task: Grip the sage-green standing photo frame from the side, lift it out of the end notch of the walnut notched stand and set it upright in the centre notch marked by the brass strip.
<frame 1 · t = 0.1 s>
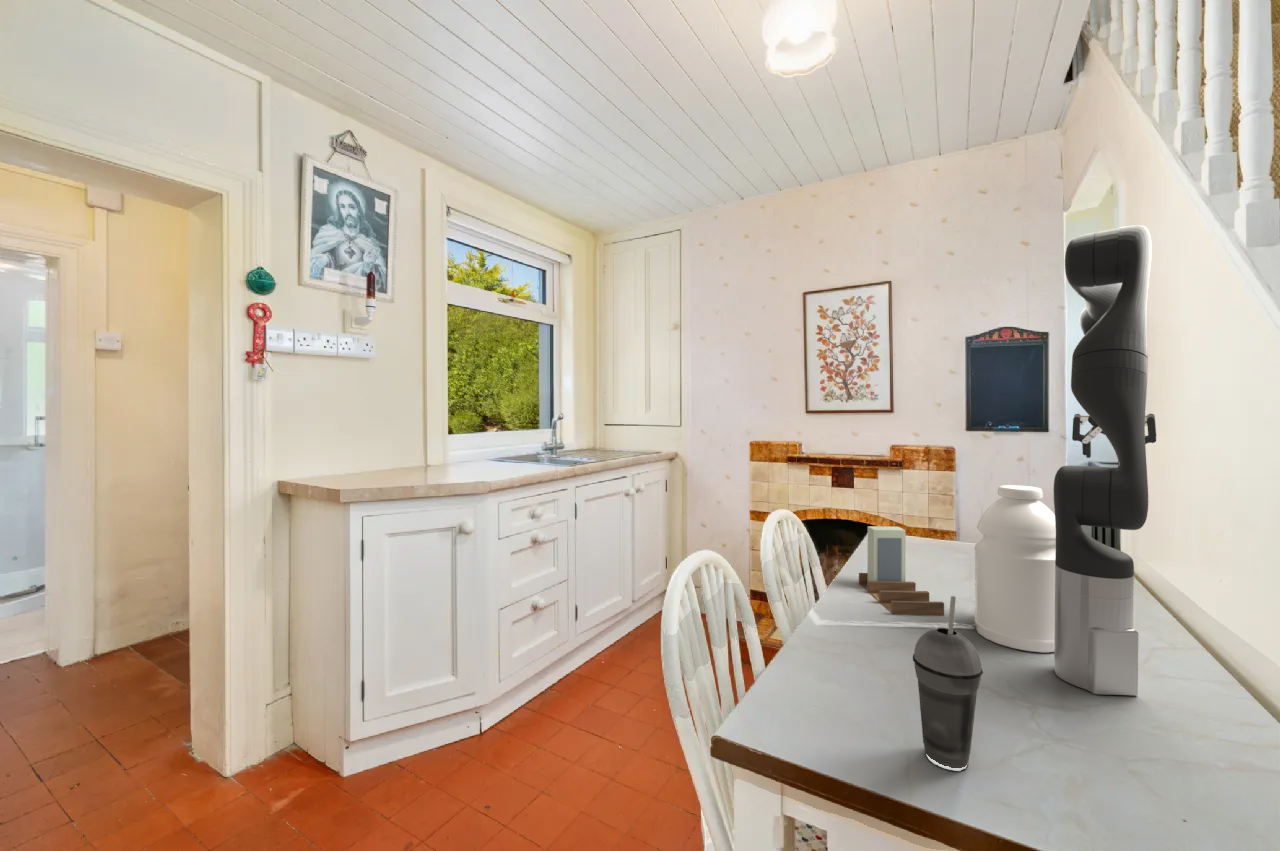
hand: (1112, 457, 122), 31 cm above the table, tool tilted 20°, fingers open, 8 cm apart
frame: (886, 588, 122), point 1 cm above the table, touching stand
beverage cup: (946, 760, 63), on the table
stand: (897, 603, 116), on the table
bottle: (1018, 638, 98), on the table
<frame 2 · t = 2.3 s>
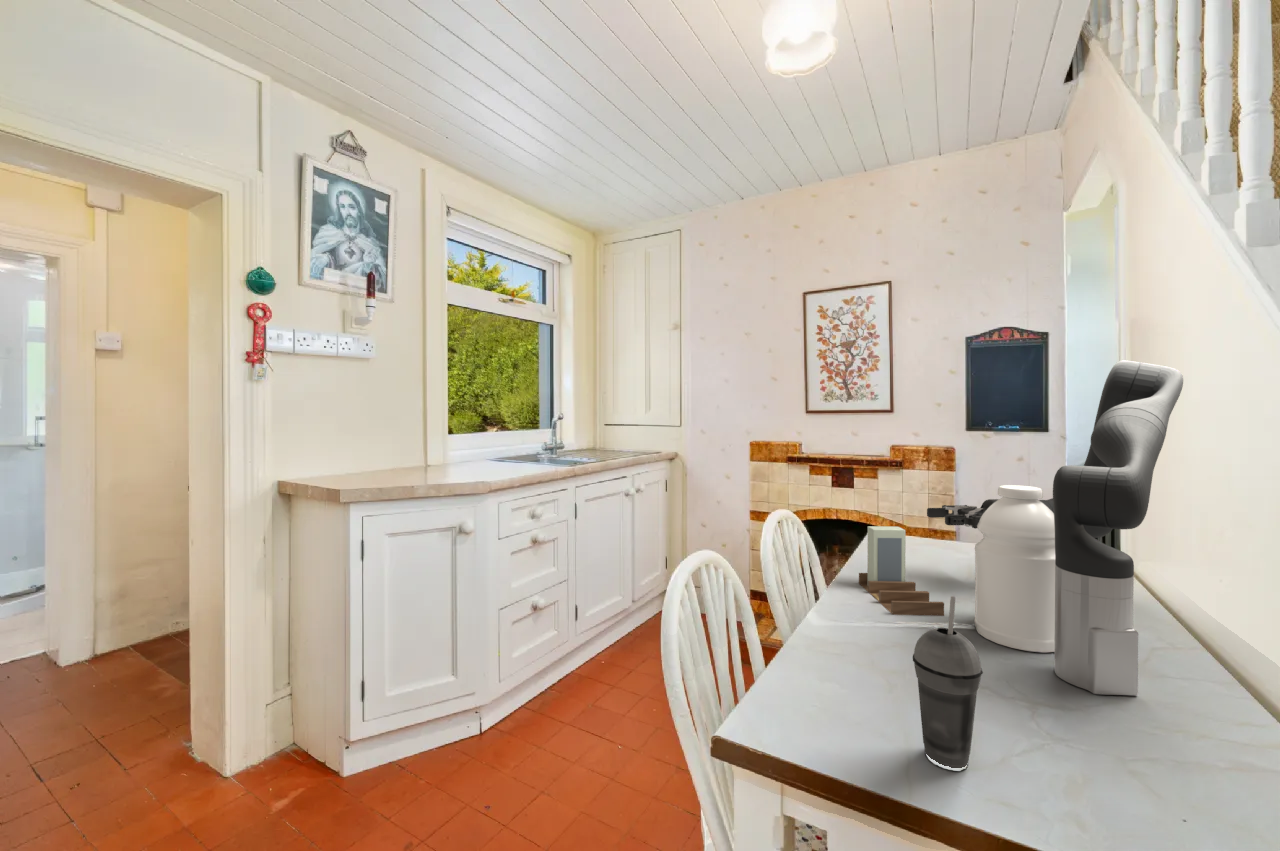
hand: (936, 516, 121), 18 cm above the table, tool horizontal, fingers open, 8 cm apart
nothing on the table moved.
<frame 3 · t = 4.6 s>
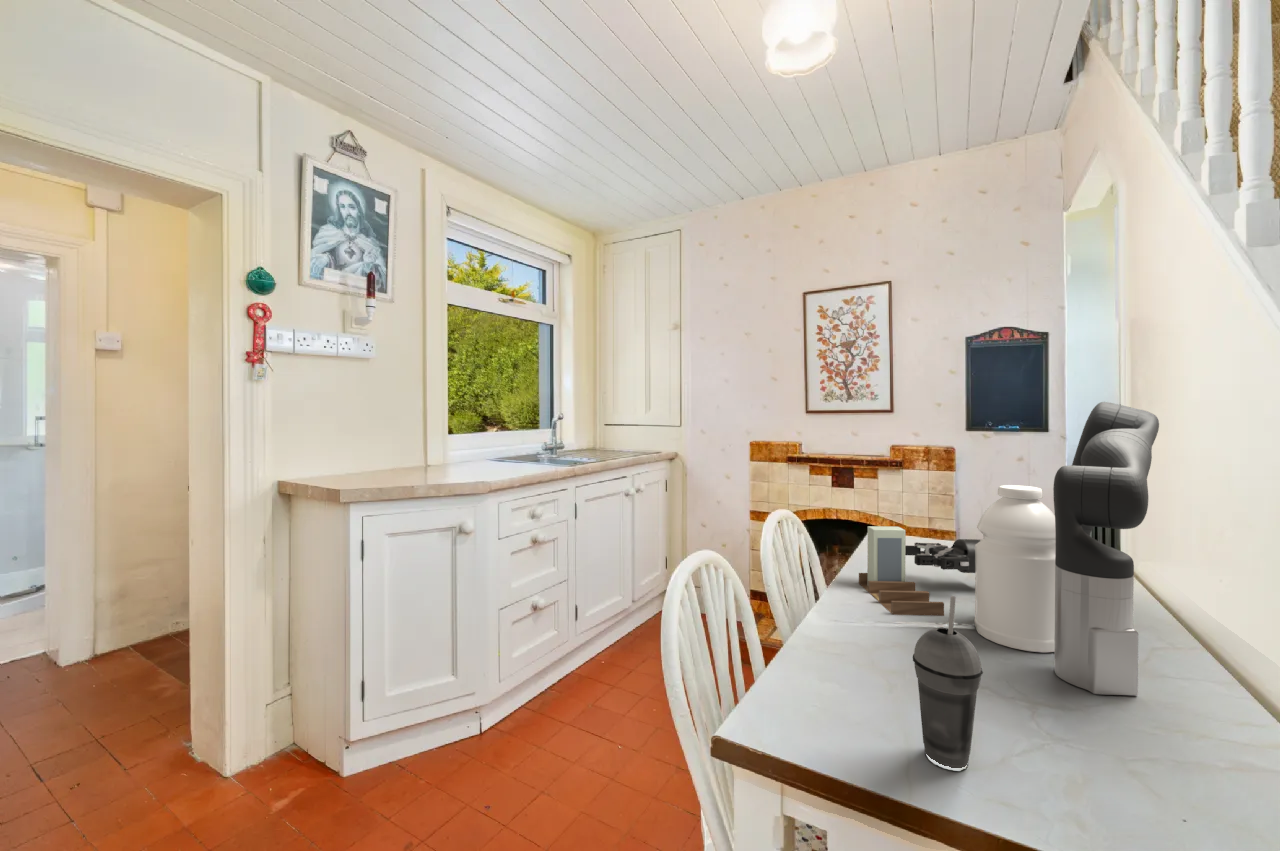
hand: (907, 554, 122), 9 cm above the table, tool horizontal, fingers open, 8 cm apart
nothing on the table moved.
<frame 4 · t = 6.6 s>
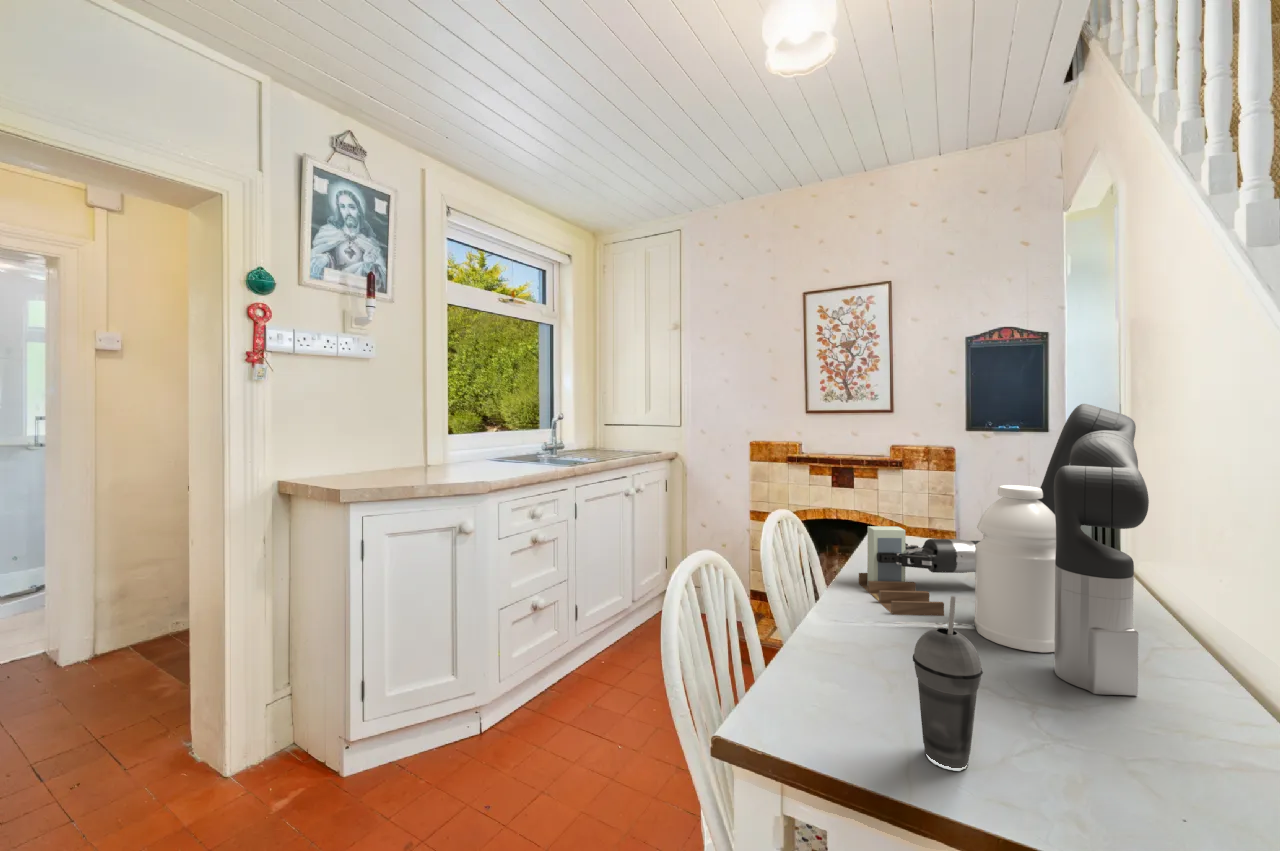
hand: (874, 554, 122), 9 cm above the table, tool horizontal, fingers closed on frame, 4 cm apart
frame: (886, 588, 122), point 1 cm above the table, touching gripper, stand
everything else where it was.
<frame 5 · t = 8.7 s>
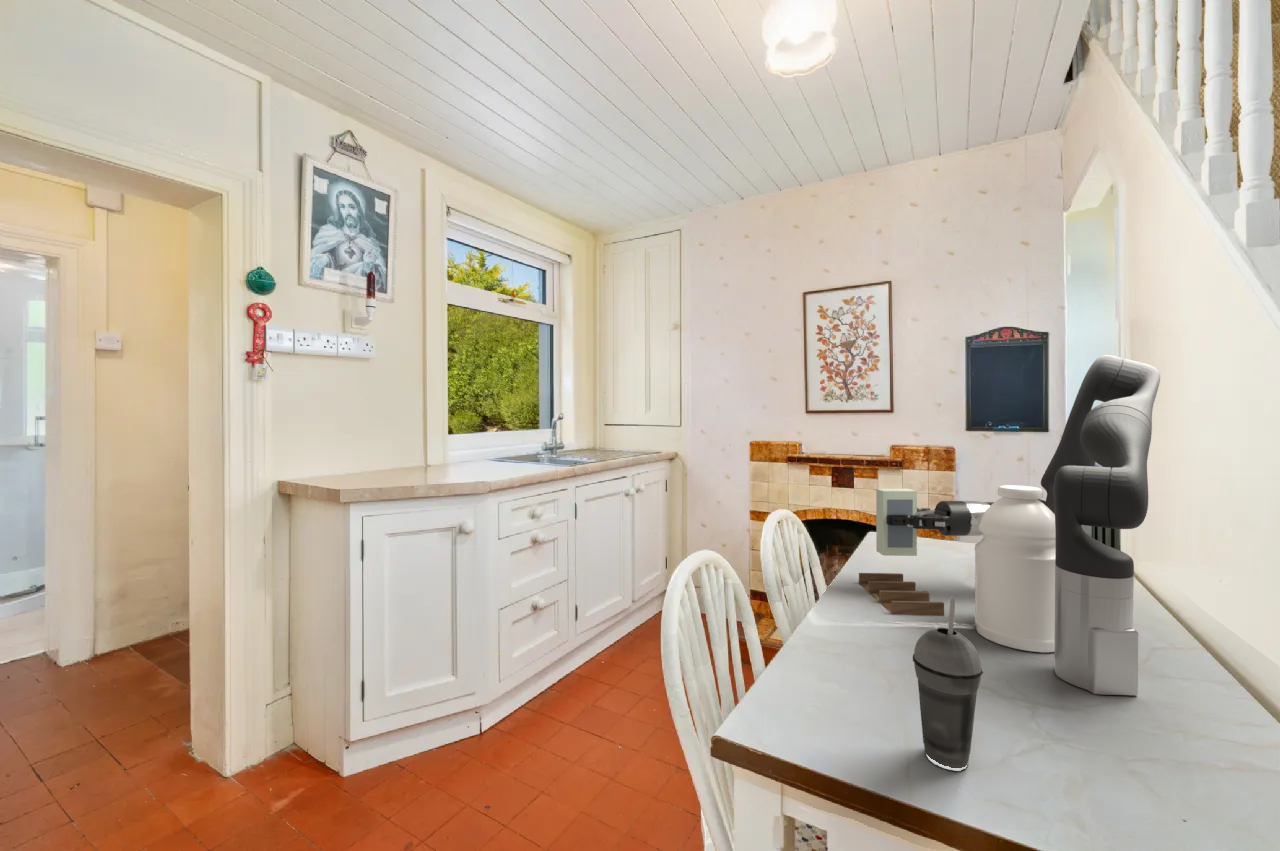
hand: (883, 518, 116), 19 cm above the table, tool horizontal, fingers closed on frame, 4 cm apart
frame: (896, 553, 116), point 11 cm above the table, touching gripper
everything else where it was.
when the fingers open (10 cm above the table, at t = 11.2 s): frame drops 1 cm, resting on stand.
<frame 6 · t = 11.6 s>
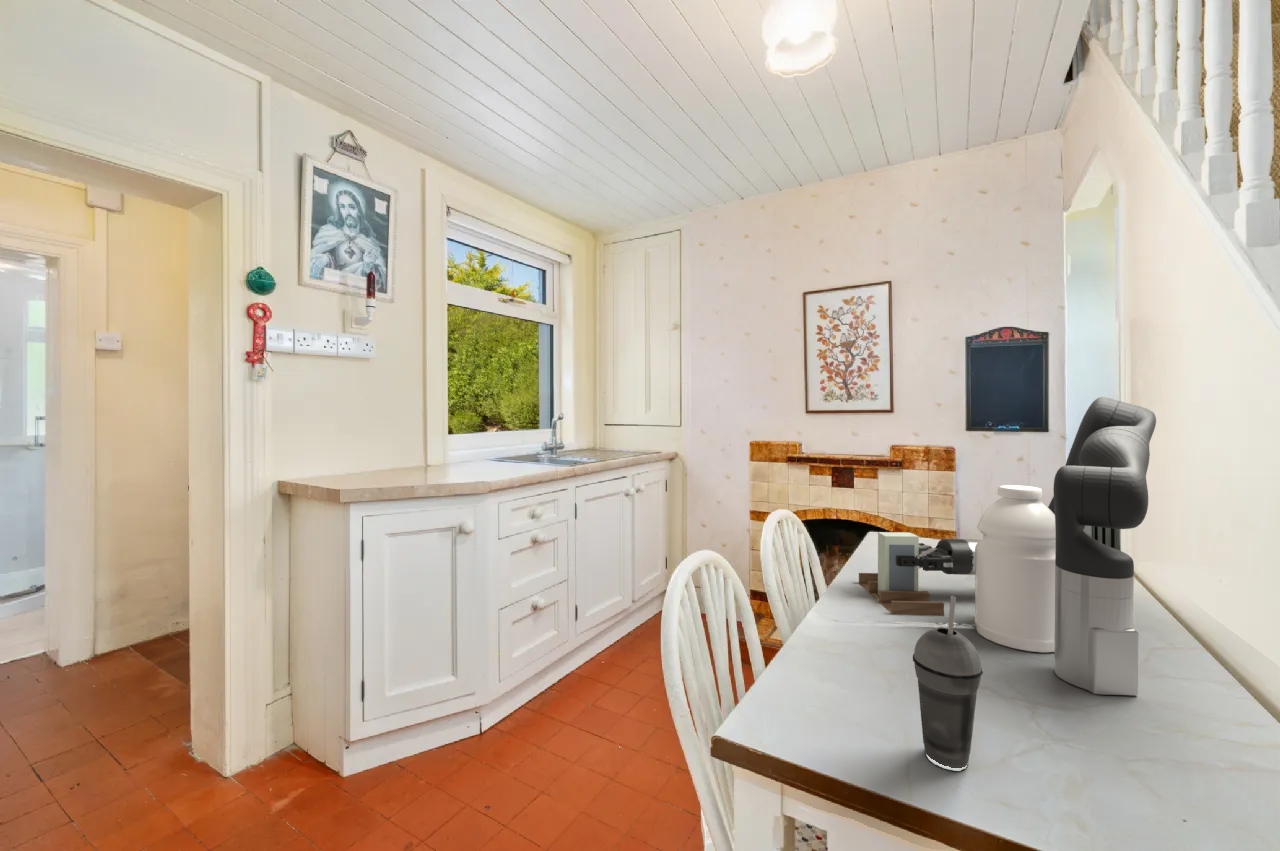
hand: (888, 555, 116), 11 cm above the table, tool horizontal, fingers open, 8 cm apart
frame: (897, 597, 116), point 1 cm above the table, touching stand
everything else where it was.
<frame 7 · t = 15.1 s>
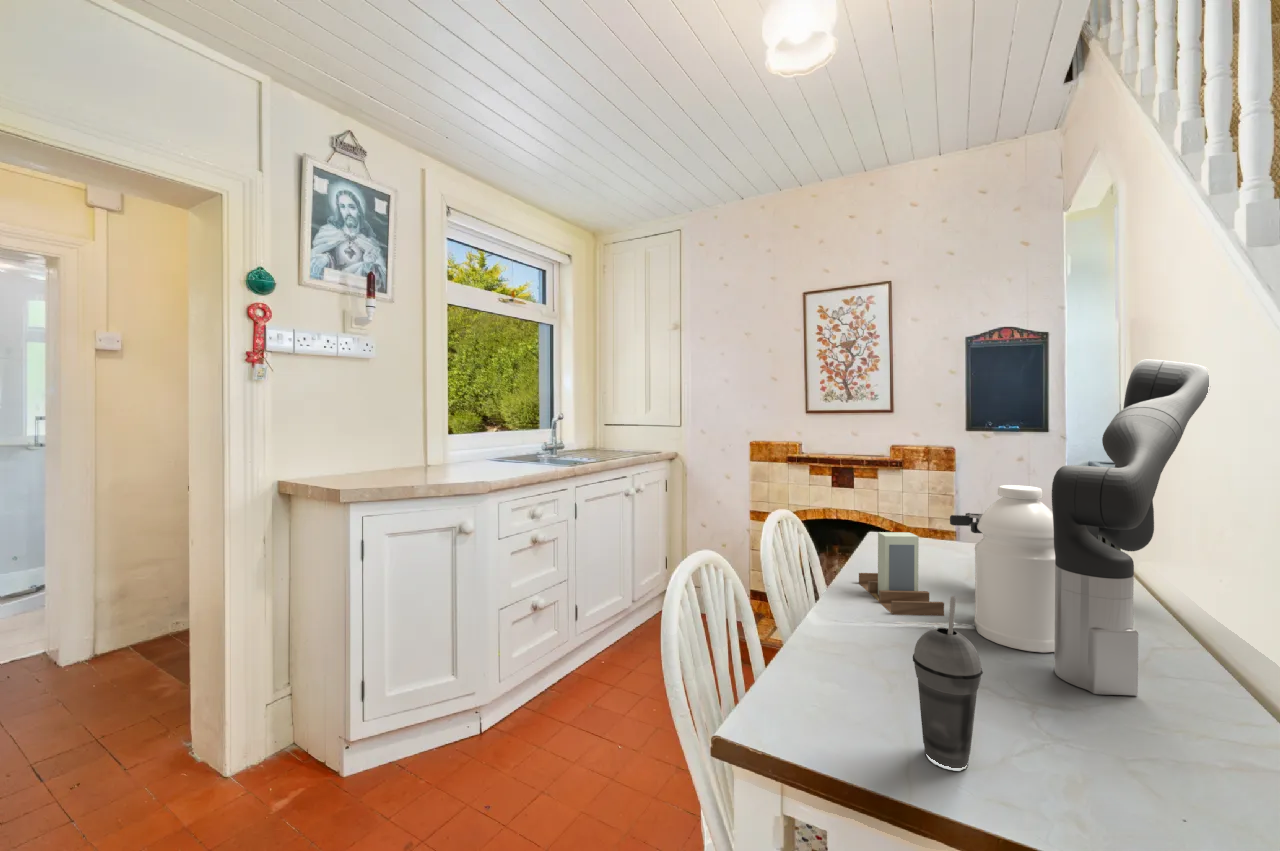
hand: (960, 523, 115), 18 cm above the table, tool horizontal, fingers open, 8 cm apart
nothing on the table moved.
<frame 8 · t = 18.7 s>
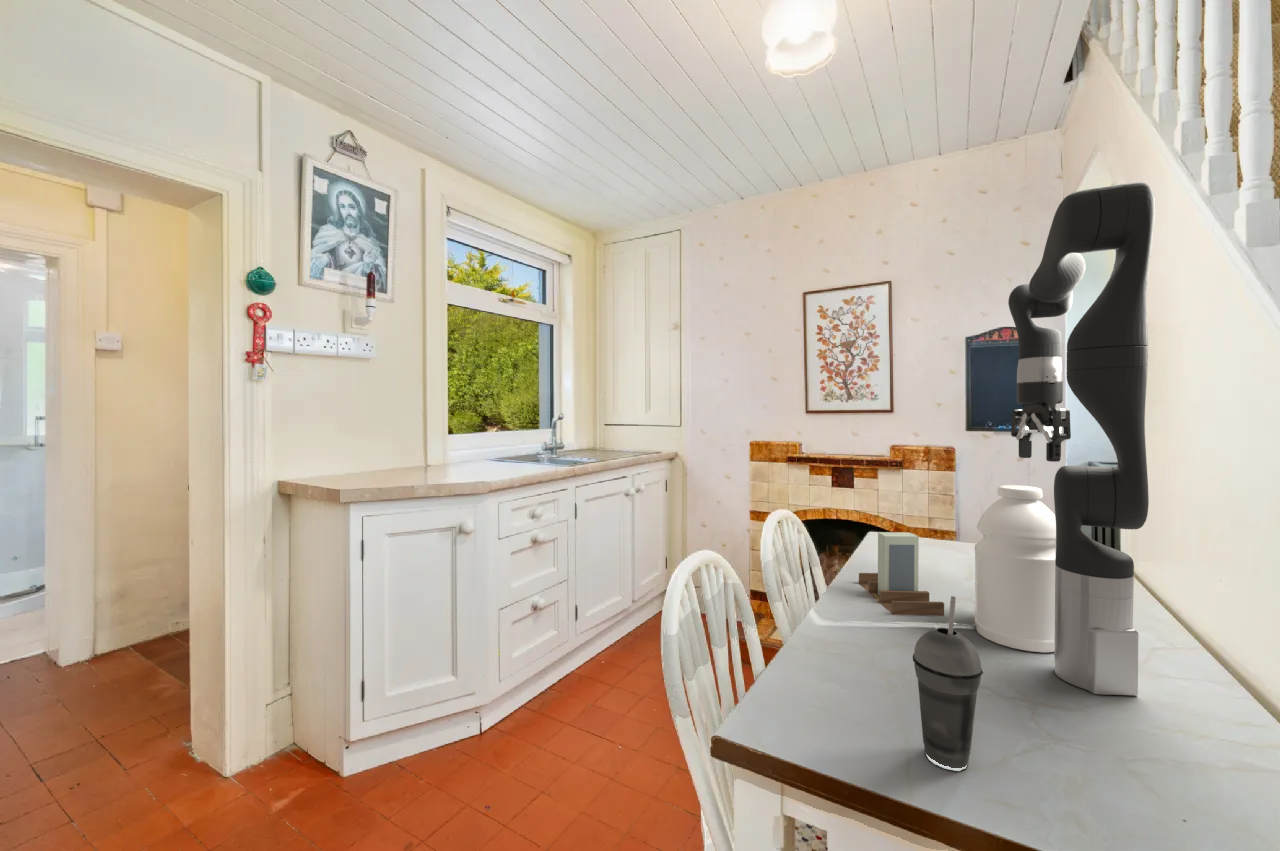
hand: (1038, 459, 109), 32 cm above the table, tool pointing down, fingers open, 8 cm apart
nothing on the table moved.
at the end: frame 0.1 cm off-centre on the stand, point 1.2 cm above the stand's base; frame tilted 0°; the gripper is holding nothing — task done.
